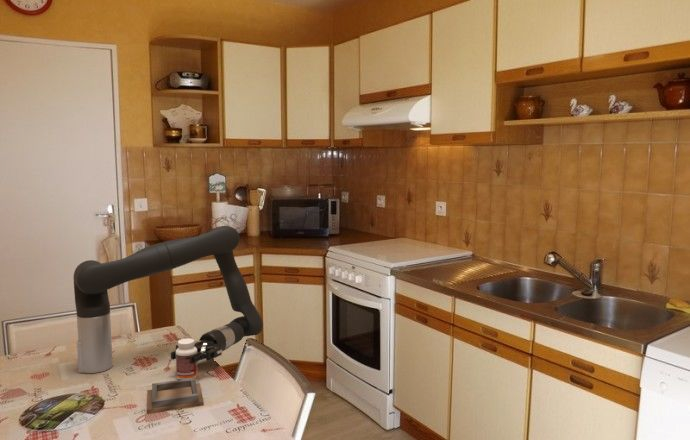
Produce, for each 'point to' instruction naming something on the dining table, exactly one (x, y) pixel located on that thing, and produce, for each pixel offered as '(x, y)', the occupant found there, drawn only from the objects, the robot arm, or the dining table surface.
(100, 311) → the robot arm
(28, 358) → the dining table surface
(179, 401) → the grey shallow rectangular tray
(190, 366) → the pill bottle
